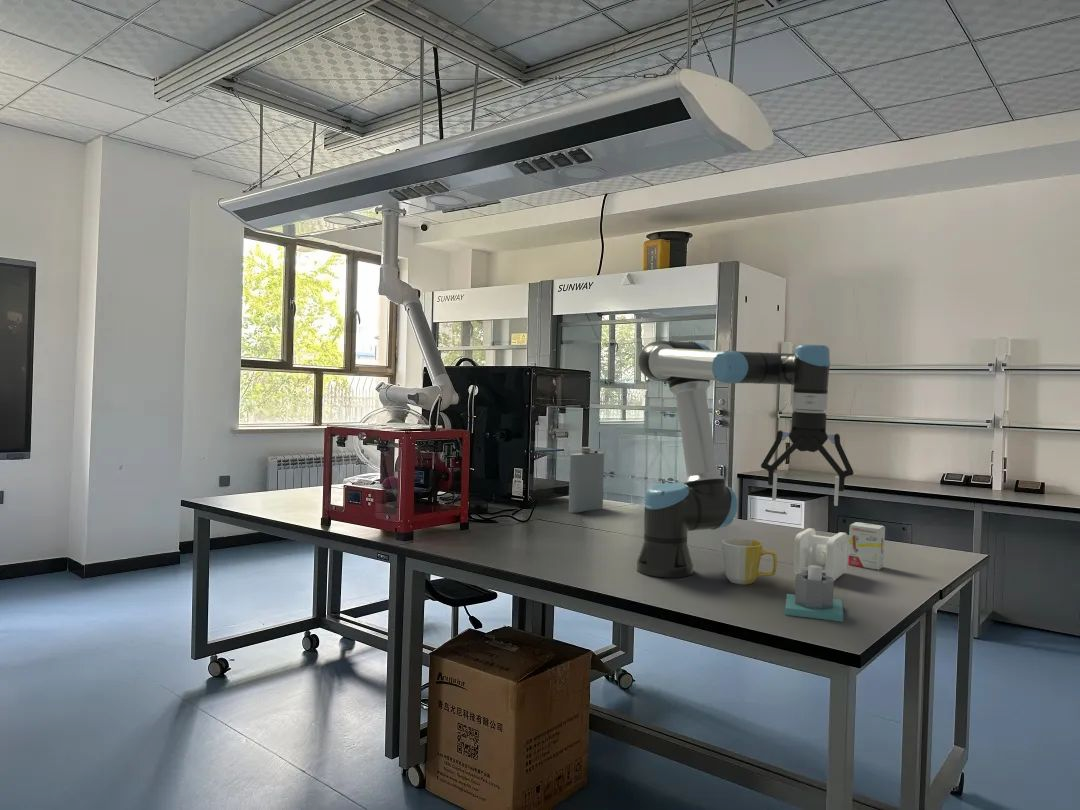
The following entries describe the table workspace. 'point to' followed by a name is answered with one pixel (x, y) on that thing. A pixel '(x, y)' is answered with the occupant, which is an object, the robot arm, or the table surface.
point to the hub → (814, 592)
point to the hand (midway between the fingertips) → (804, 502)
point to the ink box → (866, 545)
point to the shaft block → (826, 614)
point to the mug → (744, 559)
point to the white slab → (586, 480)
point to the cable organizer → (821, 553)
